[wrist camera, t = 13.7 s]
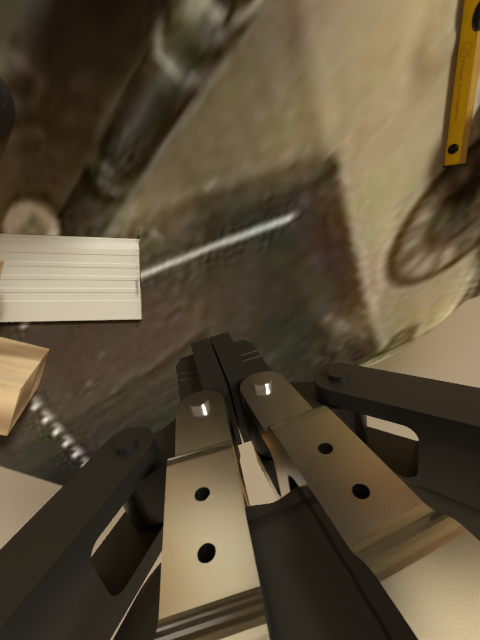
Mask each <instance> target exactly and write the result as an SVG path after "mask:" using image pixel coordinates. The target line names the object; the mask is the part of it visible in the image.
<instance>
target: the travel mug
mask: <svg viewBox="0 0 480 640" xmlns="http://www.w3.org/2000/svg"><path fill="white" fill-rule="evenodd" d="M14 117H15V106H14V101H13V98H12V95H11V93H10V90H9V89H8V87H7V85H6V84H5V82H4V81H3V80H2V79H1V77H0V137H1V136H3V135H4V134H5V133H7V132H8V130H9V129H10V128H11V126H12V124H13V121H14Z"/></svg>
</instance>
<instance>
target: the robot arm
mask: <svg viewBox="0 0 480 640" xmlns="http://www.w3.org/2000/svg"><path fill="white" fill-rule="evenodd" d="M210 341H211V343H210ZM191 346H192V350H193V354H194V355H191V356H188V357H184V358H181V359H180V361H179V362H178V364H177V366H176V370H177V378H178V386H179V394H180V403H179V405H178V406H177V409H176V418H175V420H174V421H172V422H171V423H170V424H169V425H168V426H166V427H164V428H163V429H161V430H159V431H158V432H156V433H154V434H153V433H152V432H151V430H150V429H148V428H146V427H132V428H129V429H126V430H123V431H121V432H119V433H118V434H116V435H115V436H113V437H112V438H111V439H110V440H108V441H107V442H106V443H105V444H104V445H103V446H102V447H101V448H100V449H99V450H98V451H97V453H96V454H95V455H94V456H93V457H92V458H91V459H90V460H89V461H88V462H87V463H86V464H85V465H84V466H83V467H82V468H81V469H80V470H79V471H78V472H77V473H76V474H75V475H74V476H73V477H72V478H71V479H70V480H69V481H68V482H67V483H66V484H65V485H64V486H63V487H62V488H61V489H60V490H59V491H58V492H57V493H56V494H55V495H54V496H53V497H52V498H51V499H50V500H49V501H48V502H47V503H46V504H45V505H44V506H43V507H42V508H41V509H40V510H39V511H38V512H37V513H36V514H35V515H34V516H33V517H32V518H31V519H30V520H29V521H28V522H27V523H26V524H25V525H24V526H23V527H22V528H21V530H19V531H18V533H16V534H15V535H14V536H13V537H12V538H11V540H10V541H9V542H8V543H7V544H6V545H5V546H4V547H3V548H2V549H1V550H0V640H110V639H111V637H112V635H113V634H114V632H115V630H116V628H117V627H118V625H119V623H120V622H121V620H122V618H123V616H124V615H125V613H126V611H127V609H128V608H129V606H130V604H131V603H132V601H133V599H134V597H135V596H136V594H137V592H138V591H139V589H140V587H141V585H142V584H143V582H144V580H145V578H146V577H147V575H148V573H149V572H150V570H151V568H152V566H153V565H154V563H155V561H156V560H157V558H158V556H159V554H160V552H161V551H162V562H161V563H160V564H159V565H158V567H157V568H156V569H155V570H154V572H153V573H152V574H151V575H150V576H149V578H148V579H147V581H146V582H145V584H144V585H143V587H142V588H141V590H140V592H139V593H138V595H137V597H136V599H135V600H134V602H133V604H132V606H131V608H130V610H129V612H128V613H127V615H126V617H125V619H124V621H123V622H122V624H121V626H120V628H119V630H118V632H117V634H116V635H115V637H114V639H113V640H480V388H477V387H471V386H465V385H460V384H455V383H449V382H444V381H438V380H433V379H428V378H422V377H416V376H411V375H406V374H400V373H395V372H389V371H384V370H378V369H373V368H368V367H362V366H357V365H351V364H345V363H334V364H328V365H325V366H323V367H321V368H319V369H318V370H317V371H316V372H315V374H314V381H313V382H303V383H290V382H288V381H287V380H286V379H285V378H284V377H283V376H282V375H281V374H279V373H276V372H272V371H271V370H270V368H269V367H268V365H267V364H266V362H265V361H264V360H263V358H262V357H261V356H260V354H259V352H258V351H257V349H256V348H255V347H254V345H253V344H252V343H250V342H248V341H245V340H241V341H238V342H235V343H233V341H232V339H231V337H230V335H229V334H228V332H226V333H223V334H219V335H216V336H212V337H210V340H209V338H206V339H202V340H199V341H195V342H192V343H191ZM366 415H368V416H372V417H375V418H379V419H382V420H386V421H390V422H393V423H397V424H400V425H404V426H406V427H408V428H410V429H412V430H413V431H414V432H415V433H416V434H417V436H418V438H419V441H415V440H411V439H408V438H405V437H401V436H397V435H394V434H391V433H388V432H384V431H381V430H378V429H374V428H371V427H367V418H366ZM238 428H239V429H238ZM239 430H240V433H241V436H242V438H243V441H244V443H245V442H248V441H252V444H253V446H254V450H255V454H256V458H257V461H258V463H259V465H260V467H261V469H262V471H263V473H264V475H265V477H266V479H267V481H268V483H269V485H270V487H271V488H272V490H273V492H274V494H275V496H276V498H277V501H276V502H273V503H270V504H263V505H255V506H250V504H249V499H248V495H247V490H246V486H245V481H244V477H243V473H242V468H241V464H240V452H239V448H238V445H240V444H242V441H241V438H240V433H239ZM122 506H123V507H124V509H125V513H124V514H123V515H122V517H121V518H120V519H119V521H118V522H117V523H116V525H115V526H114V527H113V529H112V530H111V532H110V533H109V534H108V535H107V537H106V538H105V540H104V541H103V542H102V544H101V545H100V546H99V548H98V549H97V550H96V552H95V553H94V554H93V556H92V557H91V553H92V549H93V547H94V544H95V542H96V540H97V539H98V537H99V536H100V535H101V533H102V532H103V531H104V530H105V528H106V527H107V526H108V524H109V523H110V522H111V520H112V519H113V518H114V516H115V515H116V514H117V513H118V511H119V510H120V509H121V507H122Z"/></svg>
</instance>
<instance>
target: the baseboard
mask: <svg viewBox="0 0 480 640" xmlns="http://www.w3.org/2000/svg"><path fill="white" fill-rule="evenodd" d="M138 233H139V229H138ZM138 236H139V235H138ZM0 259H2V260H5V261H4V265H3V269H2V273H1V277H0V322H28V321H79V320H130V319H141V321H142V303H141V277H140V252H139V239H123V238H99V237H74V236H50V235H26V234H2V233H0Z"/></svg>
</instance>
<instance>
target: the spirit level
mask: <svg viewBox="0 0 480 640" xmlns="http://www.w3.org/2000/svg"><path fill="white" fill-rule="evenodd" d="M479 67H480V0H465V1H464V9H463V17H462V25H461V33H460V41H459V49H458V57H457V65H456V73H455V81H454V89H453V98H452V106H451V114H450V122H449V130H448V138H447V146H446V154H445V162H444V166H443V168H444V167H453V166H461V165H467V163H466V156H467V150H468V143H469V136H470V129H471V122H472V115H473V108H474V102H475V95H476V88H477V81H478V74H479ZM457 145H458V146H457ZM456 146H457V147H456ZM455 151H457V152H455Z"/></svg>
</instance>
